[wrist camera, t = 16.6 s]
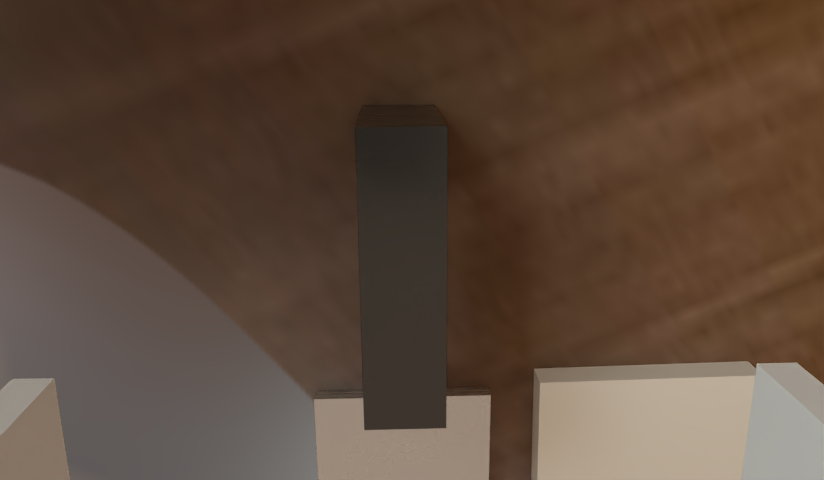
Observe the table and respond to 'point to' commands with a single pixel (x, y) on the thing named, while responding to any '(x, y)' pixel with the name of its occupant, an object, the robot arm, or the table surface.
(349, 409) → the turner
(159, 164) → the table surface
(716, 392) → the tile
